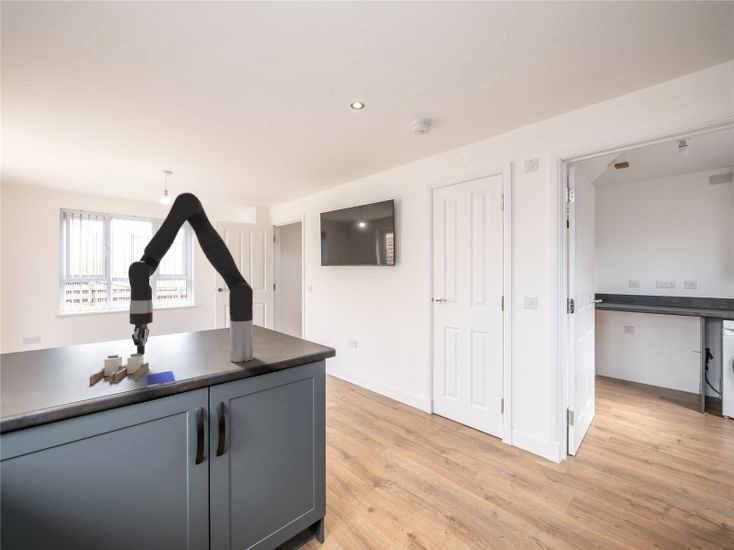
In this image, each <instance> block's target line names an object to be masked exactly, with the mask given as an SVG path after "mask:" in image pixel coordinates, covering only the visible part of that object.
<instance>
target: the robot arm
mask: <svg viewBox="0 0 734 550" xmlns="http://www.w3.org/2000/svg"><path fill="white" fill-rule="evenodd" d="M185 222H187V223H188V224H189V226H191V228H192V230H193V232H194V233H195V236H196V239H197V241H198V245H199V246H200V248H201V250H202V252H203V254H204V256H205V257H206V260H207V261H208V262H209V263H210V265H212V268H214V269H215V271H216V272H217V273H218V274H219V275H220V276H221V278H222V279H223V280H224V283H225V285H226V287H227V288H228V291H229V296H228V298H229V299H228V300H229V301H228V302H229V303H228V307H229V308H228V309H229V360H230V362H232V361H233V363H244V362H243V361H245V362H249V361H253V360H254V357H253V356H254V337H253V336H254V334H253V333H254V319H253V318H254V313H253V312H254V311H253V308H254V307H253V305H254V304H253V303H254V301H253V300H254V296H253V295H254V291H253V288H252V286H251V285H250V284H249V283H248V281H247V280H246V278H245V277H244V275H242V273H241V271H240V270H239V268H238V266H237V264H236V262H235V259H234V257H233V255H232V253H231V252H230V250H229V247H228V246H227V245H226V243H225V241H224V239H223V238H222V237H221V235H220V233H218V231H217V230H216V229H215V227H214V226H213V225H212V223H211V221H210V220H209V218H208V215H207V214H206V211H205V209H204V207H203V204H202V201H200V199H199V198H198V196H197V195H195V194H194V193H191V192H181V193H180V194H178V195H177V196H176V197H175V200H174V201H173V203H172V206H171V208H170V210H169V212H168V214H167V216H166V217H165V219H164V221H163V223H162V224H161V226H160V227H159V228H158V230H157V231H156V232H155V234H154V235H153V237H152V238H151V239H150V241H149V242H148V243H147V244H146V246H145V247H144V249H143V255H142V256H141V258H140V259H139V260H136V261H133V262H131V264H130V265H129V267H128V272H127V276H128V280H129V281H128V282H129V286H130V302H129V324H130V325H134V328H133V333H132V334H131V338H132V341H133V345H134V346H135V347H136V354H139V353H141V354H144V355H145V347H146V344H147V343H148V339H149V334H150V331H151V330H150V328H149V327H148V325H149V324H152V323H153V321H154V320H153V318H154V317H153V315H154V314H153V313H154V312H153V311H154V309H153V307H154V304H153V289H152V286H151V284H150V281H151V280H150V277H152V276H153V275H154V273H155V272H156V270H157V269H158V266H159V265H160V263H161V261H162V259H163V258H164V257H165V256H166V254H168V253H167V252H169V250H170V249H171V247H172V246H173V244H174V243H175V239H176V237H177V236H178V233H179V232H180V229H181V228H182V227H183V225H184V224H185ZM248 360H249V361H248Z"/></svg>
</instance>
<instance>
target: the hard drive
mask: <svg viewBox="0 0 734 550" xmlns="http://www.w3.org/2000/svg"><path fill="white" fill-rule="evenodd" d="M176 381H177V380H176V378H175V376H174V373H173V371H172V370H169V371H168V370H167V371H163V372H161V371H160V372H155V373H154V372H153V373H148V374H146V375H145V383H146V388H147V389H148V388H153V387H159V386H165V385H166V386H167V385H171V384H176Z"/></svg>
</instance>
